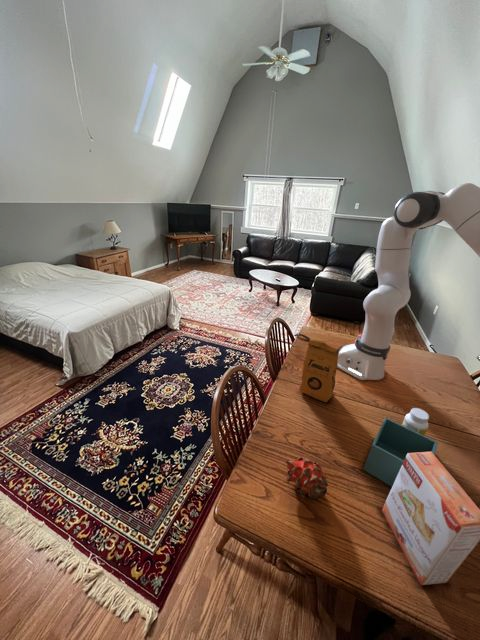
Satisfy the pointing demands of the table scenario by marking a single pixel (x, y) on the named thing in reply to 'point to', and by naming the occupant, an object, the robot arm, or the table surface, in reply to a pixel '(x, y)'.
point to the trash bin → (394, 450)
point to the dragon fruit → (307, 477)
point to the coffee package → (319, 370)
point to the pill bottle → (416, 421)
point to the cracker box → (431, 518)
